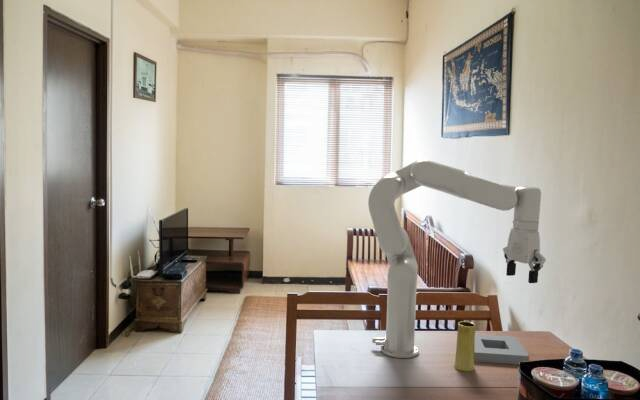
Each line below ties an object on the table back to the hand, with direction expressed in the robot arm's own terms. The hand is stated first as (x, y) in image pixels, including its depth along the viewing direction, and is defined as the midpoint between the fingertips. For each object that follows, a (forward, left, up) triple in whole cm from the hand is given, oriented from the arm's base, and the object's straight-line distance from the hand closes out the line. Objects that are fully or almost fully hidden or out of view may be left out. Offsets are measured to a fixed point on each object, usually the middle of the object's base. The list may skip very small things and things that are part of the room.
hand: (521, 279), depth 176 cm
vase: (-17, -7, -28) cm, 34 cm away
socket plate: (-5, +8, -28) cm, 29 cm away
